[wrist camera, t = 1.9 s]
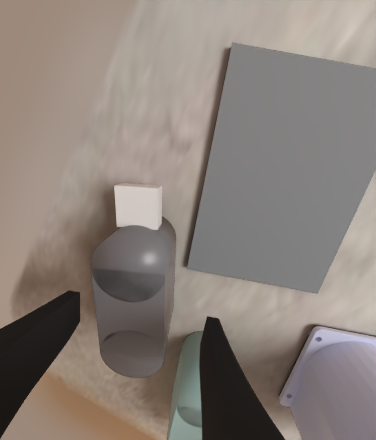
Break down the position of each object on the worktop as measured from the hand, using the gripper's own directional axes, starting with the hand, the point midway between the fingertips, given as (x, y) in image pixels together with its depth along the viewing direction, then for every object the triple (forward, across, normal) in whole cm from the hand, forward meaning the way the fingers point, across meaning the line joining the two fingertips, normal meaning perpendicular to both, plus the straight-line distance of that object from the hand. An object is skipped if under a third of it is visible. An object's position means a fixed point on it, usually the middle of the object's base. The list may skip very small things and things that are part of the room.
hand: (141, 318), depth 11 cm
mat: (+5, -7, -8) cm, 12 cm away
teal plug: (+5, -5, +11) cm, 13 cm away
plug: (+5, +1, -1) cm, 5 cm away
